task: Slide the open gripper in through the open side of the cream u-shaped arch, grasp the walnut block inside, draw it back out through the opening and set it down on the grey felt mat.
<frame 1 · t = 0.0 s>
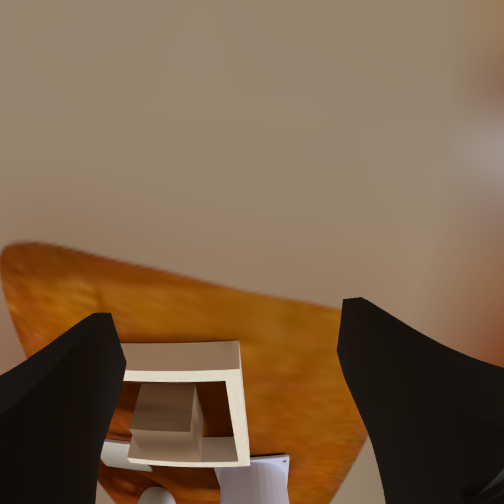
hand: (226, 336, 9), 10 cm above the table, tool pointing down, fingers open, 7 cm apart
mat: (120, 453, 27), on the table
block: (170, 423, 22), in the cream u-shaped arch
donut: (162, 488, 31), on the table
cream u-shaped arch: (173, 401, 24), on the table
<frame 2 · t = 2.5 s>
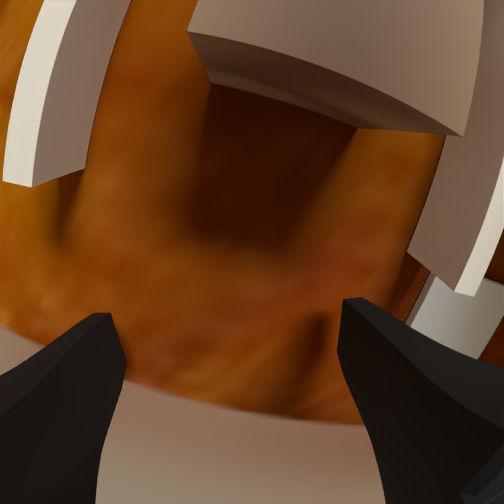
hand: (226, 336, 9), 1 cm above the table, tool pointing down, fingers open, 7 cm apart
mat: (449, 334, 12), on the table
block: (331, 9, 5), in the cream u-shaped arch
cream u-shaped arch: (308, 36, 7), on the table
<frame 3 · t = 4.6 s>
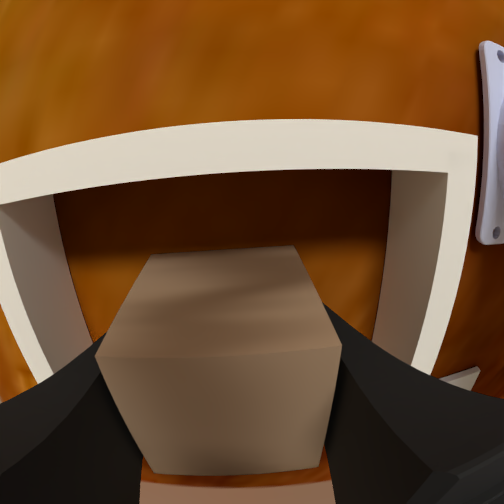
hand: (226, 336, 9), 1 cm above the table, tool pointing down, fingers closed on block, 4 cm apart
mat: (420, 415, 14), on the table
block: (226, 359, 8), in the cream u-shaped arch, touching gripper
cream u-shaped arch: (227, 311, 11), on the table
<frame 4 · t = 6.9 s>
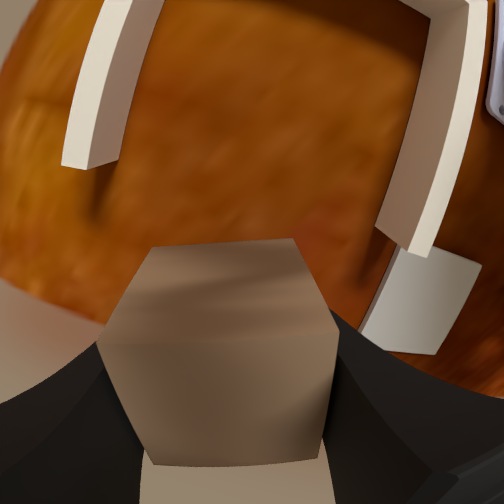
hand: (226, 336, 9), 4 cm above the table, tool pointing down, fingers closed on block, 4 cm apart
mat: (420, 301, 15), on the table
block: (226, 350, 8), point 5 cm above the table, touching gripper
cream u-shaped arch: (291, 58, 10), on the table
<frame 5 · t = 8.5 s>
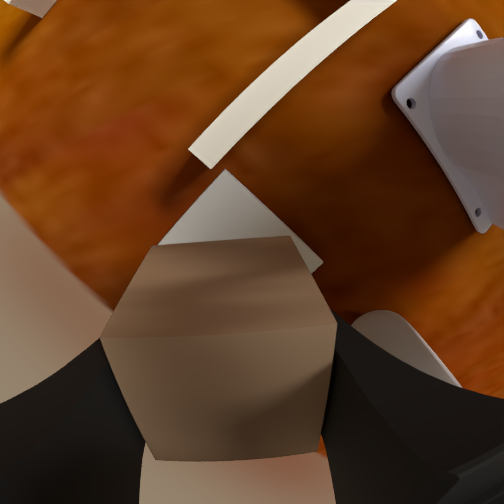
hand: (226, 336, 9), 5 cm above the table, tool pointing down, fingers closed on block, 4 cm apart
mat: (229, 262, 14), on the table
block: (225, 345, 9), point 6 cm above the table, touching gripper
donut: (382, 332, 17), on the table
when the fingers open (2 cm above the table, at t = 9.5 s): block stays where it is, resting on mat.
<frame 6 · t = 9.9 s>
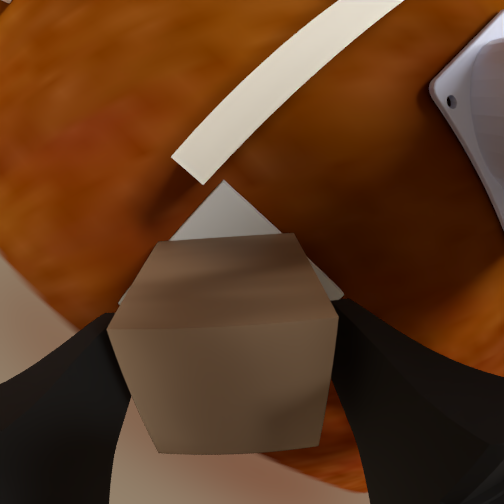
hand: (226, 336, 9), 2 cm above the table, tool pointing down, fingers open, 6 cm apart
mat: (229, 295, 12), on the table
block: (229, 340, 9), on the mat
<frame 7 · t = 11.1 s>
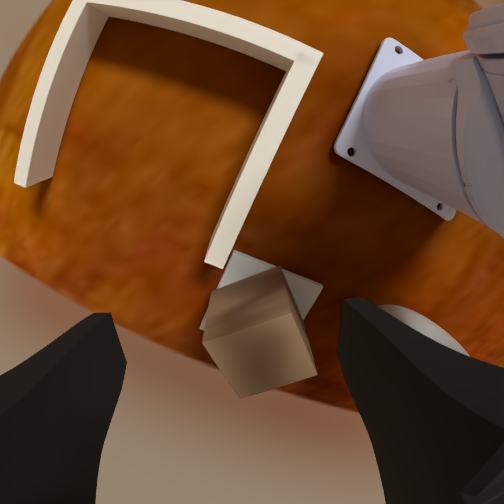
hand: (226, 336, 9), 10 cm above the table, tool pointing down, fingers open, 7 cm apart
mat: (259, 306, 20), on the table
block: (260, 331, 18), on the mat
donut: (391, 316, 21), on the table
cream u-shaped arch: (155, 116, 15), on the table
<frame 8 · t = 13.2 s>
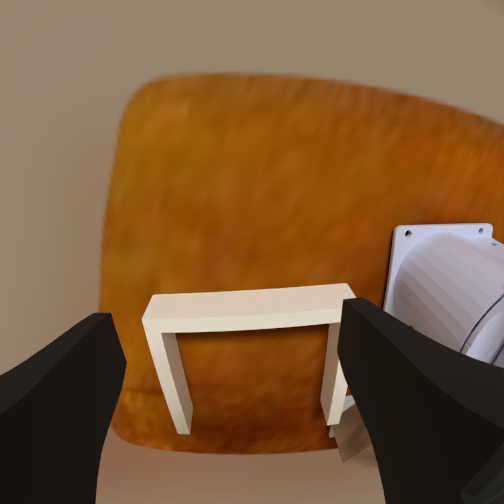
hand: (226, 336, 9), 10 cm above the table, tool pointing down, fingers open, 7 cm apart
block: (369, 434, 23), on the mat
cream u-shaped arch: (254, 359, 23), on the table
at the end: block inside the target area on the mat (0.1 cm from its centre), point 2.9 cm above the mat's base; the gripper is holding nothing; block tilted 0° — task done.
